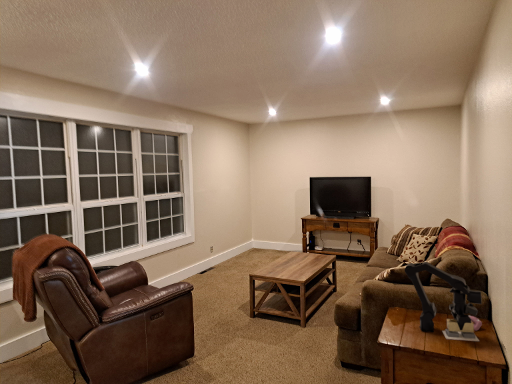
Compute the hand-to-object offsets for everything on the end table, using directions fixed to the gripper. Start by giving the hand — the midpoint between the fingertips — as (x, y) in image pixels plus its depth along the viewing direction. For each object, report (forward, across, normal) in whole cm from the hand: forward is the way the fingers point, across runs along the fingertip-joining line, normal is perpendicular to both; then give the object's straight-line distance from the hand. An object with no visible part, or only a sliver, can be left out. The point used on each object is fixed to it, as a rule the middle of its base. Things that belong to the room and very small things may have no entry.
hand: (459, 328), depth 192 cm
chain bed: (+5, 0, 0) cm, 5 cm away
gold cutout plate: (+1, 0, 0) cm, 1 cm away
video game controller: (+5, +12, -10) cm, 17 cm away
